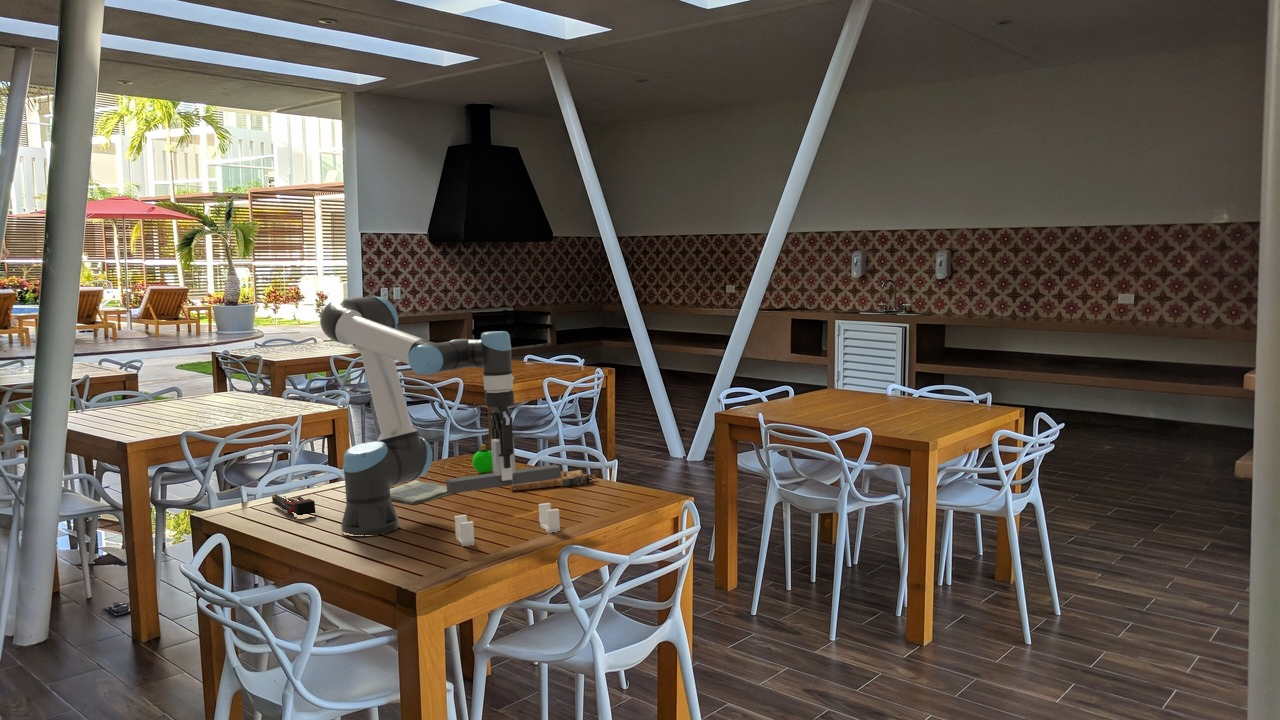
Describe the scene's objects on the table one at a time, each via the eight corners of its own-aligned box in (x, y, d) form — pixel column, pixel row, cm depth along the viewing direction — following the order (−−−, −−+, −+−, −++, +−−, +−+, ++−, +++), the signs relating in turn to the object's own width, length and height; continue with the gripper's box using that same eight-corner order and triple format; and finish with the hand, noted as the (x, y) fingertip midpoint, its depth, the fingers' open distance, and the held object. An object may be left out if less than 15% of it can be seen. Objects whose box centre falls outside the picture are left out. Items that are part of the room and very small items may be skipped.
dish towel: (413, 507, 281) (413, 496, 281) (376, 499, 292) (376, 489, 291) (460, 493, 296) (459, 483, 295) (423, 487, 306) (422, 477, 306)
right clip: (549, 533, 246) (548, 511, 245) (539, 525, 254) (538, 504, 253) (560, 531, 247) (559, 509, 246) (550, 524, 255) (549, 502, 254)
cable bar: (450, 493, 238) (447, 447, 237) (446, 490, 242) (443, 445, 241) (561, 477, 250) (558, 433, 249) (556, 475, 254) (553, 431, 253)
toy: (266, 507, 292) (294, 521, 268) (265, 492, 292) (293, 504, 268) (294, 502, 297) (323, 516, 273) (292, 487, 297) (322, 499, 273)
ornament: (500, 470, 324) (499, 442, 323) (490, 476, 316) (488, 447, 315) (479, 470, 326) (478, 442, 325) (468, 475, 319) (467, 446, 318)
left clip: (462, 546, 237) (461, 523, 236) (455, 538, 245) (454, 516, 244) (474, 545, 238) (473, 522, 237) (467, 536, 246) (465, 514, 245)
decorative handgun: (506, 476, 306) (511, 484, 292) (589, 467, 313) (599, 474, 299) (506, 486, 306) (512, 494, 292) (590, 476, 313) (599, 484, 299)
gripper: (522, 392, 237) (528, 482, 240) (503, 385, 253) (509, 470, 255) (493, 395, 234) (499, 486, 237) (476, 388, 250) (482, 474, 252)
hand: (504, 478), depth 246 cm, fingers closed on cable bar, 4 cm apart
